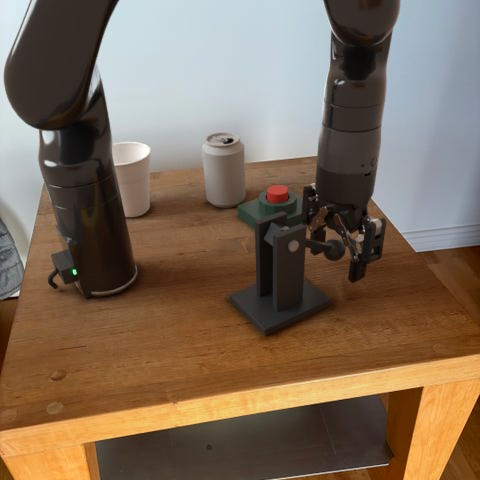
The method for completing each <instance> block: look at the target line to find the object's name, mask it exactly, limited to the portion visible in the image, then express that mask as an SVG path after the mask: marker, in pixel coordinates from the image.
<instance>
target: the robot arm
mask: <svg viewBox="0 0 480 480" xmlns="http://www.w3.org/2000/svg"><path fill="white" fill-rule="evenodd" d="M120 1H121V0H30V1H29V3H28V5H27V8H26V11H25V13H24V16H23V19H22V20H21V24H20V26H19V29H18V31H17V34H16V36H15V38H14V40H13V44H12V46H11V47H10V51H8V52H9V53H8V55H7V58H6V60H5V63H4V67H3V86H4V91H5V95H6V98H7V100H8V103H9V104H10V106H11V108H12V110H13V111H14V113H15V114H16V116H17V117H18V118H19V119H20V120H21V121H23V123H25V124H26V125H28V126H29V127H31V128H33V129H35V130H38V138H39V141H38V143H39V145H38V153H37V154H38V155H37V163H38V166H39V170H40V173H41V176H42V179H43V183H44V186H45V188H46V192H47V195H48V197H49V202H50V205H51V207H52V211H53V214H54V218H55V220H56V224H55V230H56V233H57V237H58V239H59V243H60V246H61V249H62V250H61V251H58V252H54V253H51V254H50V258H51V262H52V264H53V267H54V269H53V271H52V272H51V273H49V275H48V276H47V284H48V285H49V286H50V287H52V288H53V289H54V290H57V289H58V288H59V285H58V284H57V283H56V282H54V278H55V277H56V276H57V275H58V276H59V277H60V279H61V281H62V282H63V284H64V285H65V286H67V285H70V284H73V283H74V284H75V287H76V289H77V290H78V291H79V292H80V294H81V295H82V297H83V298H84V299H88V298H91V297H97V298H98V297H109V296H113V295H117V294H120V293H122V292H124V291H126V290H127V289H129V288H130V287H132V286H133V285H134V284H135V282H136V281H137V279H138V276H139V271H138V268H137V264H136V259H135V255H134V252H133V251H134V250H133V247H132V242H131V236H130V231H129V227H128V222H127V217H125V213H124V208H123V203H122V198H121V194H120V189H119V184H118V179H117V174H116V170H115V165H114V160H113V152H112V144H113V132H112V126H111V120H110V116H109V115H110V114H109V108H108V103H107V99H106V97H107V96H106V92H105V87H104V82H103V78H102V73H101V70H100V66H99V64H98V61H97V60H98V57H99V54H100V49H101V46H102V43H103V39H104V38H105V34H106V31H107V29H108V26H109V23H110V21H111V19H112V17H113V14H114V12H115V10H116V9H117V6H118V4H119V3H120ZM322 3H323V7H324V11H325V14H326V18H327V21H328V24H329V27H330V44H329V45H330V46H329V64H328V65H329V66H328V71H327V75H326V78H325V83H324V89H323V99H322V113H321V125H320V129H319V135H318V141H317V155H316V169H315V181H314V182H313V183H310V184H307V185H305V186H304V187H303V190H302V191H303V192H302V198H303V201H302V213H301V221H302V223H303V225H305V224H306V225H307V226H308V227H307V229H308V231H309V233H310V234H309V235H310V236H309V239H312V240H316V241H320V242H324V243H326V241H327V240H326V238H327V230H326V228H328V229H329V230H332V231H334V232H335V233H336V234H337V235H338V236H340V237H341V241H342V242H343V243H344V245H345V247H346V248H348V252H349V254H350V257H351V259H350V260H349V261H350V262H349V269H348V270H349V271H348V277H347V281H348V282H350V283H351V284H355V283H357V282H359V281H361V280H363V279H364V278H365V277H366V272H367V266H368V265H370V264H371V263H373V262H375V261H378V260H381V259H382V258H383V257H382V256H383V252H384V251H383V250H384V242H385V235H386V227H387V220H386V219H385V218H384V217H379V218H375V217H373V216H371V215H369V208H368V204H369V202H370V200H371V198H372V197H373V195H374V192H375V185H376V180H377V173H378V172H377V171H378V166H379V158H380V154H381V153H380V152H381V145H382V127H383V126H382V125H383V117H384V111H385V105H386V104H385V103H386V96H387V84H388V83H387V82H388V79H387V76H388V75H387V67H388V61H389V54H390V50H391V44H392V37H393V33H394V27H395V26H396V24H397V22H398V18H399V15H400V11H401V3H402V1H401V0H322ZM310 209H312V213H309V211H310ZM356 232H358V234H357V236H355V237H352V236H351V235H352V234H354V233H356ZM358 243H359V246H360V250H359V248H358ZM309 251H310V254H311V255H312V256H314V257H315V256H316V257H317V256H318V255H320V254H323V251H319V250H314V249H310V250H309Z"/></svg>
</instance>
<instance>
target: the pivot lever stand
mask: <svg viewBox="0 0 480 480" xmlns="http://www.w3.org/2000/svg"><path fill="white" fill-rule="evenodd" d="M271 222H273V223H277V224H280V225H284V226H287V213H285V212H284V211H282V212H279V213H276V214H273V215H270V216H268V217H265V218H262V219H259V220H256V221H255V229H254V237H255V238H254V240H255V241H254V244H255V245H254V246H255V283H254V284H252V285H249V286H247V287H245V288H242V289H239V290H238V291H235V292H232V293H230V294H229V295H228V301H229V303H231V304H232V306H234V307H235V308H236V309H237V310H238V312H239V313H241V314H242V316H244V318H246V320H248V321H249V322H250V323H251V324H252V325H253V326H254V328H255V329H256V330H258V331H259V332H260V333H261V334H262V335H263V336H264V337H267V336H269V335H272V334H273V333H275V332H278V331H280V330H282V329H285V328H286V327H288V326H291V325H294V324H295V323H297V322H299V321H301V320H304V319H305V318H307V317H310V316H311V315H314V314H316V313H318V312H320V311H322V310H325V309H327V308H329V307H331V299H330V298H329V297H328V296H327V295H325V294H324V293H323V292H322V291H321V290H319V289H318V288H317V287H315V286H314V285H313V284H311V282H309V281H307V280H306V279H305V264H306V238H307V229H308V227H307V226H306V225H305V224H300V225H297V226H294V227H292V228H289V229H286V230H284V231H281V232H278V233H276V234H273V246H272V245H271V244H269V243H268V242H267V241H265V240H264V237H265V235H266V233H267V231H268V229H269V227H270V224H271Z"/></svg>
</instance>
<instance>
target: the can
mask: <svg viewBox="0 0 480 480" xmlns="http://www.w3.org/2000/svg"><path fill="white" fill-rule="evenodd" d="M201 154H202V155H201V156H202V166H203V167H202V168H203V177H204V188H205V199H206V200H207V202H209V203H210V204H211V205H212V206H214V207H217V208H223V209H225V208H228V209H229V208H233V207H236V206H238V205H240V204H242V202H244V201H245V200H244V199H246V197H247V194H246V193H247V190H246V189H247V188H246V159H245V157H246V156H245V144H244V143H243V141H241V135H239V134H237V133H236V132H231V131H218V132H213V133H211V134H209V135H207V136H206V137H205V138H204V143H203V144H202V147H201Z"/></svg>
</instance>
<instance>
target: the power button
mask: <svg viewBox="0 0 480 480" xmlns="http://www.w3.org/2000/svg"><path fill="white" fill-rule="evenodd" d="M288 189H289V188H288V187H287V186H285V185H280V184H275V185H271V186H269V187H268V188H267V200H268V201H269V202H274V203H282V202H285V201H287V200H288Z"/></svg>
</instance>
